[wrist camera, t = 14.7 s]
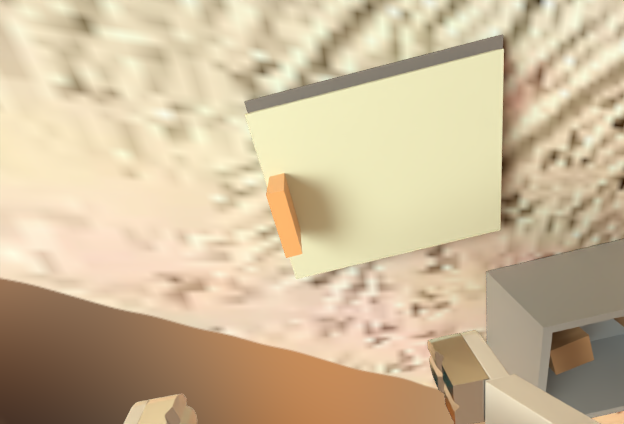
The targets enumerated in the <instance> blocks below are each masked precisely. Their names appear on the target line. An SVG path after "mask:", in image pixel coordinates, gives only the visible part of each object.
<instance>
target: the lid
mask: <svg viewBox="0 0 624 424" xmlns="http://www.w3.org/2000/svg"><path fill="white" fill-rule="evenodd" d="M503 70H504V49H497V50H492V51H488V52H484V53H480V54H477V55H473V56H469V57H465V58H461V59H457V60H453V61H449V62H445V63H441V64H438V65H434V66H430V67H426V68H422V69H418V70H414V71H410V72H406V73H402V74H399V75H395V76H391V77H387V78H383V79H379V80H375V81H371V82H367V83H363V84H360V85H356V86H352V87H348V88H344V89H340V90H336V91H332V92H328V93H325V94H321V95H317V96H313V97H309V98H305V99H301V100H297V101H293V102H289V103H286V104H282V105H278V106H274V107H270V108H266V109H262V110H258V111H254V112H250V113H247V114H245V118H246V121H247V124H248V127H249V130H250V134H251V137H252V140H253V143H254V146H255V150H256V153H257V156H258V159H259V162H260V166H261V169H262V172H263V175H264V178H265V181H266V185H267V193H266V196H267V199H268V202H269V205H270V209H271V212H272V215H273V218H274V221H275V224H276V227H277V231H278V234H279V237H280V240H281V243H282V246H283V249H284V253H285V256H286V258H288V257H289V258H290V261H291V264H292V268H293V271H294V274H295V277H296V279H299V278H303V277H307V276H312V275H316V274H320V273H324V272H328V271H332V270H337V269H341V268H345V267H349V266H353V265H358V264H362V263H366V262H370V261H374V260H378V259H383V258H387V257H391V256H395V255H399V254H403V253H408V252H412V251H416V250H420V249H424V248H429V247H433V246H437V245H441V244H445V243H449V242H454V241H458V240H462V239H466V238H470V237H474V236H479V235H483V234H487V233H491V232H495V231H500V228H501V175H502V123H503Z"/></svg>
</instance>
